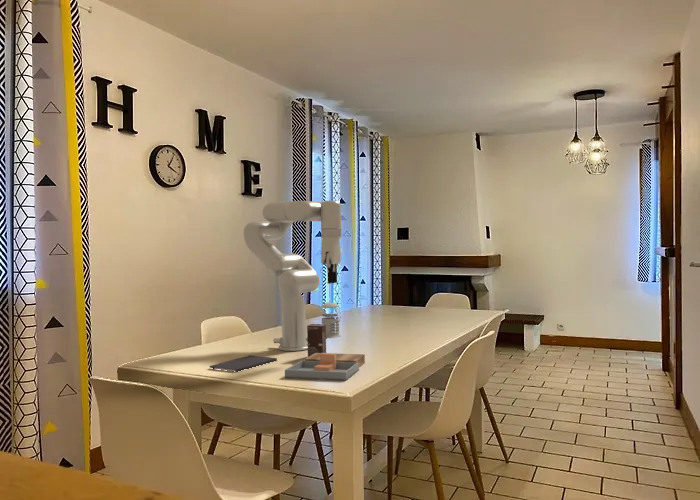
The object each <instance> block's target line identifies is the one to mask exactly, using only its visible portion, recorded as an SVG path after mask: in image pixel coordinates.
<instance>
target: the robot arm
mask: <svg viewBox="0 0 700 500" xmlns="http://www.w3.org/2000/svg"><path fill="white" fill-rule="evenodd" d="M261 213H262V216H263V218H264V219H265V220H255V221H250V222H248V223H246V224H245V226H244V229H243V239H244V243H245V245H246V247H247V249H248V250H249V251H250V252H251V253H252V254H253V255H254V256H255V257H256V259H258V260H259V261H260V262H261V263H262V264H263V266H264V267H265V268H266V269H267V271H269V273H270V274H271V275H272V276H274V277H277V279H278V280H277V282H278V283H277V284H278V289H279V294H280V302H281V304H280V305H281V335H282V336H281V337H274V338H273V343H274V344H279V345H278V350H280V351H285V352H300V351H301V352H302V351H305V350H308V343H307V322H306V320H307V319H306V301H305V299H304V297H303V296H302V293H311V292H314V291H316V290H317V289H318V287H319V285H320V277H319V275H318V273H317V272H316V270H315V269H314V268H313V266H311V264H310V263H308V261H306V259H304V258H303V256H302V255H300V254H297V253H282V252H281V251H280V250H279V249H278V248H277V246H275V245H274V244H272V243H271V241H278V240H281V239H282V238H283V236H284V235H285V234H286V233H287V231H288V230H289V229H290V227H291V226H292V225H293V223H295V222H320V225H321V226H320V228H321V229H320V231H321V232H320V233H321V236H320V237H321V248H320V249H321V250H320V251H321V252H320V253H321V255H320V259H321V260H320V262H321V264H322V265H325V267H326V270H327V283H331V284H337V283H338V266H339V264H340V263H341V260H342V258H341V257H342V256H341V255H342V253H341V252H342V251H341V240H340V238H342V206H341V202H340V201H338V200H324V201H313V200H311V201H309V200H307V201H306V200H297V201H295V200H293V201H292V200H291V201H290V200H289V201H271V202H269V203H267V204H266V203H265V205H264V207H263V209H262V212H261ZM269 241H270V242H269Z"/></svg>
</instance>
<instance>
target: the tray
mask: <svg viewBox="0 0 700 500" xmlns="http://www.w3.org/2000/svg"><path fill="white" fill-rule="evenodd" d="M318 364H320V361H305V360H300V361H297V362H296V363H295V364H293V365H290V366H289V367H288V368H285V369H284V378H285V379H298V380H299V379H301V380H303V379H305V380H321V381H322V380H325V381H326V380H327V381H341V382H342V381H344V382H345V381H348V380H349V379H350V378H352V377H353V376H354V375H355V374H356V373H357V372H359V371H360V367H359V363H355V362H336V364H337V368H336V369H335V370H334V371H314V367H315V366H316V365H318Z"/></svg>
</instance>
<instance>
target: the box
mask: <svg viewBox="0 0 700 500" xmlns="http://www.w3.org/2000/svg"><path fill="white" fill-rule="evenodd" d="M306 340H307V344H308V349H307V357H309V356H311V355H313V354H314V353H327V338H326V325H325V324H322V323H310V324H308V325H306Z"/></svg>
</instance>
